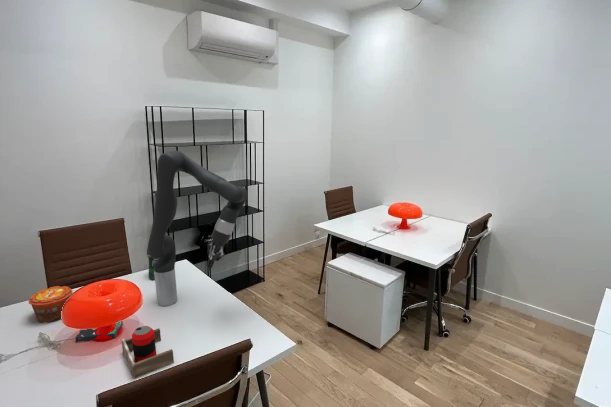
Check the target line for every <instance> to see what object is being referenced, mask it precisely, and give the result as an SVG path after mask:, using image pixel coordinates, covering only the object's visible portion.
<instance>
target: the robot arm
mask: <svg viewBox="0 0 611 407" xmlns="http://www.w3.org/2000/svg"><path fill="white" fill-rule="evenodd" d="M180 172H182V173H185V174H188V175H190V176H192V177H193V178H194V179H195V180H197V182H198V183H199V184H200V185H201V186H202V187H204V188H206V189H207V190H210V191H211V192H213V193H215V194H216V195H217V194H218V195H219V196H220V197H221V198H223V199H225V200H226V201H228V202H226V205H224V206H223V208H222V209H221V213H220V214H219V216H218V219H217V221H216V223H215V225H214V229H213V231H212V233H211V236H210V237H211V239H212V240H211V241H208V242H207V256H208V260H207V263H206V265H205V267H207V268H208V269H212V268H213V266H214V263H215V262H218V261H220V260H221V259H222V258H224V256H226V254H225V252H224V248H225V245H226V244H228V243H229V241H230V238H231V236H232V233H233V230H234V228H235V225H236V222H237V220H238V216H239V214H240V212H241V210H242V209H243V207H244V205H245V203H246V201H247V198H248V192H247V189H246V188H245V187H243V186H239V185H235V184H233V183H231V182H229V181H228V180H227V179H225V178H224V177H222V176H220V175H218V174H216V173H214V172H212V171H210V170H208V169H206V168H205V167H203V166H202V165H200V164H199V163H198V162H196V161H195V160H193V159H192V158H190V157H189V156H187V155H186V154H185V153H183V152H182V151H179V150H171V151H167V152H163V153H162V154H160V155H159V157H158V160H157V181H156V182H157V186H156V194H155V195H156V196H155V200H154V208H153V210H154V211H153V219H152V226H151V231H150V235H149V237H148V242H147V248H148V253H149V255H150V256H151V257H152V258H153V259H158V261H157V262H156V263H155V264H154V275H155V280H154V283H155V293H156V294H155V295H156V301H157V305H158V306H161V307H169V306H172V305H174V304H176V302H177V301H178V290H177V289H178V288H177V279H176V267H175V265H176V260H177V258H176V256H177V255H176V253H177V252H176V244H175V240H174V239H173V238H172V236H170V235H168V234H166V233H167V231H168V229H169V227H171V224H172V223H173V221H174V219H175V217H176V214H177V208H178V198H177V195H176V192H175V189H174V184H175V183H174V181H175V177H176V174H177V173H180Z"/></svg>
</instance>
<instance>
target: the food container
mask: <svg viewBox="0 0 611 407" xmlns="http://www.w3.org/2000/svg"><path fill="white" fill-rule="evenodd" d="M71 295H73V289H72V288H70V287H69V286H66V285H63V286H60V285H57V286H51V287H49V288H44V289H41V290H38V291H37V292H36V293H35V294H32V295H31V296H30V298H29V299H28V304H29V305H31V307H32V310H33V312H34V313H33V314H35V315H34V316H35V318H36V321H37V322H39V323H43V322H47V323H52V321H53V322H56V321H60V320H62V319H61V311H62V307H63V305H64V303H65V302H66V300H67V299H68V298H69V297H70V296H71ZM71 297H72V296H71Z"/></svg>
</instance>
